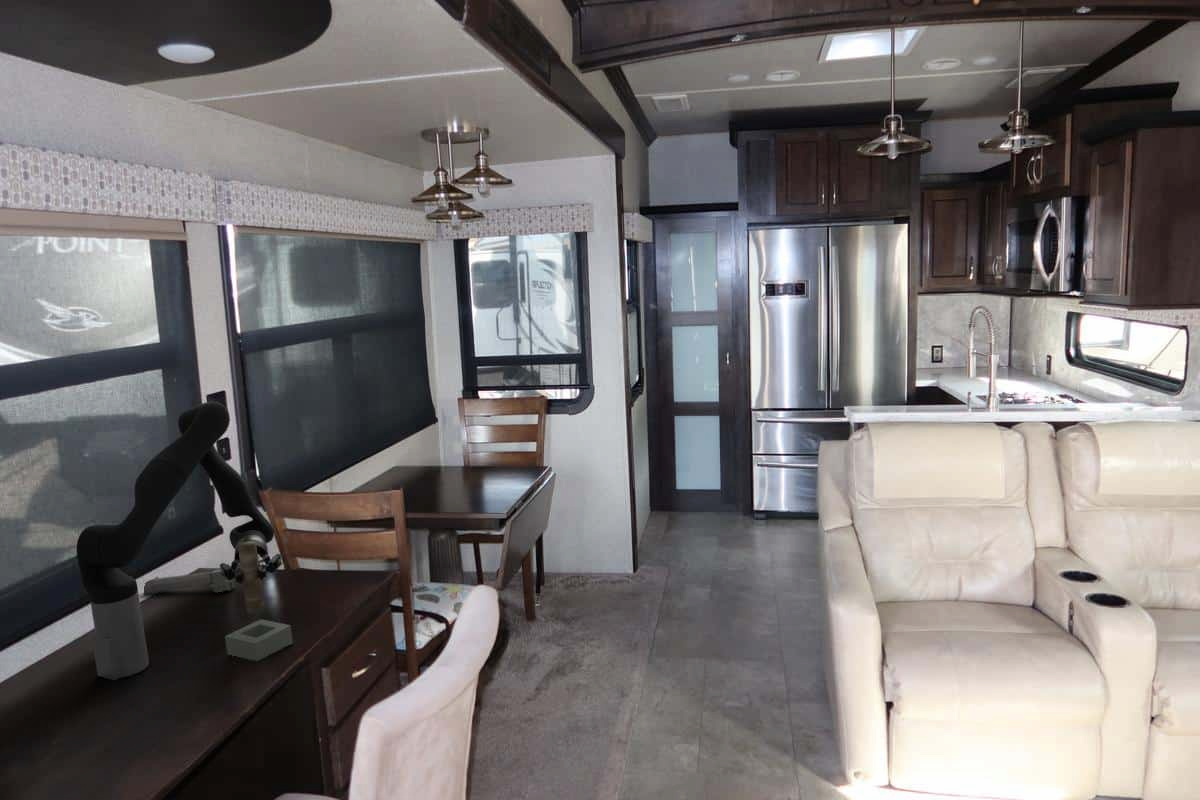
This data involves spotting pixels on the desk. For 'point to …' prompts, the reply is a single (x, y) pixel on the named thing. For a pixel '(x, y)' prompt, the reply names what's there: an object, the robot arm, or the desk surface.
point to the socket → (258, 639)
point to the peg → (251, 577)
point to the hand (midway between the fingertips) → (250, 577)
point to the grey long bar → (189, 582)
